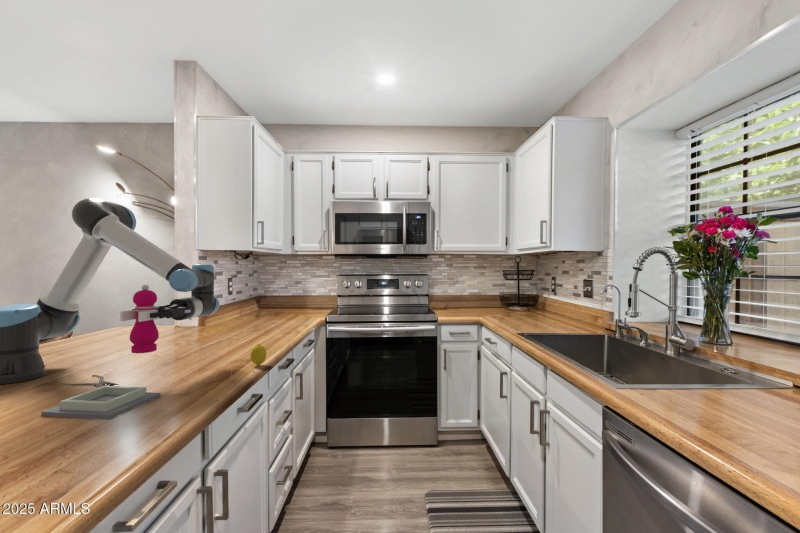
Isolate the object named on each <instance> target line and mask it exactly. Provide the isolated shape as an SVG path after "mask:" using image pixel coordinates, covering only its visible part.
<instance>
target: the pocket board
mask: <svg viewBox="0 0 800 533" xmlns="http://www.w3.org/2000/svg"><path fill="white" fill-rule="evenodd" d="M160 397H161V392H151V391H150V392H148V391H147V387H145V386H127V385H126V386H124V385H123V386H122V385H119V386H113V385H112V386H110V385H105V386H102V387H99V388H98V387H96V388H94V389H90V390H88V391H86V392H82V393H79V394H78V395H74V396H70V397H68V398H66V399H62V400H59V405H56V406H54V407H53V406H52V407H51V408H48V409H45V410H42V411H41V415H40V416H42V417H55V418H59V417H60V418H75V419H76V418H78V419H92V418H93V419H95V420H97V419H98V420H99V419H100V420H112V419H114V418H117V417H118V415H119V416H120V415H123V414H125V413H127V412H129V411H131V410H134V409H136V408H138V407H140V405H141V406H142V404H143V405H144V403H145V404H146V403H149V402H152V401H153V400H155V399H158V398H160ZM111 418H112V419H111Z"/></svg>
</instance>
